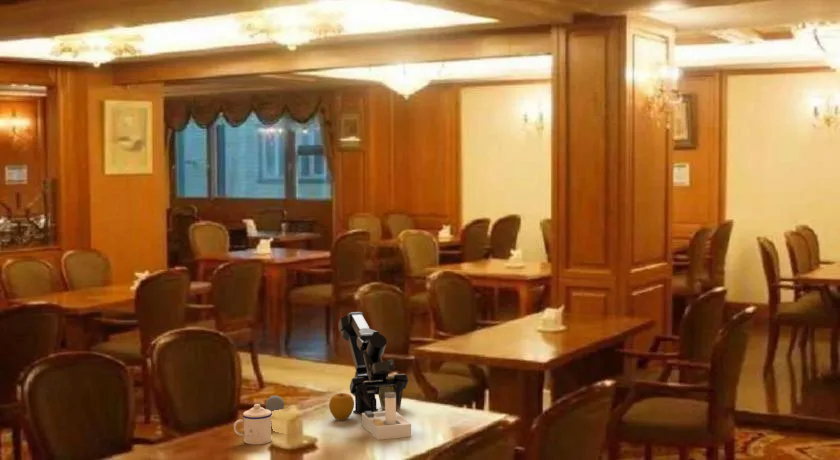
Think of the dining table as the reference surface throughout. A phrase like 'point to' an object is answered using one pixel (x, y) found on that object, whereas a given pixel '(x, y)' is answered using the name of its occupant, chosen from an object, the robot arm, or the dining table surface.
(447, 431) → the dining table surface
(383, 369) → the robot arm
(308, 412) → the dining table surface
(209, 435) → the dining table surface
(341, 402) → the apple
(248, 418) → the teacup with lid
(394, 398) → the plug
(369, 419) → the socket board
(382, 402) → the ceramic cup
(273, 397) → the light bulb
